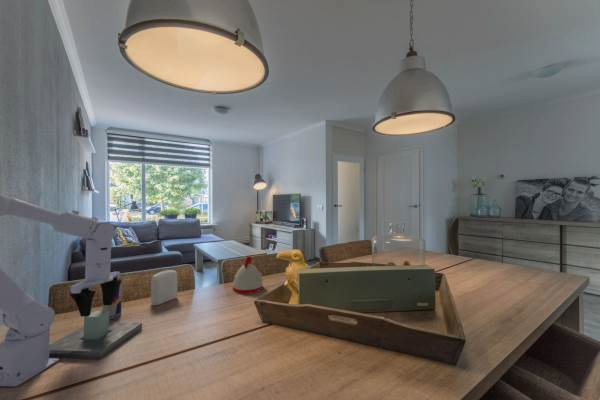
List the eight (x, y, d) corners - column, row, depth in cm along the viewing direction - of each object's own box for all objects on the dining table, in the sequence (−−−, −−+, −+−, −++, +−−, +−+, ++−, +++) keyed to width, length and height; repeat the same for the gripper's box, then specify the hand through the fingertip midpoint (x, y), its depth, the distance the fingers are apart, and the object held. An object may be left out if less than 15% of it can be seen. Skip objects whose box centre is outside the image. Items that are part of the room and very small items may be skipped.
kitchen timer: (265, 284, 126) (266, 254, 126) (257, 294, 112) (257, 260, 113) (239, 283, 128) (239, 253, 128) (227, 292, 114) (228, 259, 114)
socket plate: (99, 359, 64) (99, 351, 64) (40, 357, 65) (40, 349, 65) (142, 328, 80) (142, 322, 80) (93, 327, 81) (93, 321, 81)
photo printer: (155, 306, 98) (156, 274, 98) (148, 304, 100) (149, 273, 100) (179, 298, 107) (179, 268, 107) (172, 296, 109) (172, 267, 109)
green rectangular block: (97, 345, 71) (98, 316, 71) (83, 345, 71) (84, 316, 71) (108, 338, 75) (109, 311, 75) (95, 338, 75) (96, 310, 75)
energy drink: (111, 320, 86) (112, 285, 86) (98, 319, 87) (99, 284, 87) (125, 314, 91) (125, 280, 91) (112, 312, 92) (113, 279, 92)
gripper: (89, 269, 66) (88, 322, 65) (129, 257, 80) (128, 301, 80) (63, 268, 66) (62, 321, 66) (108, 257, 81) (107, 300, 80)
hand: (97, 310), depth 73 cm, fingers open, 7 cm apart
